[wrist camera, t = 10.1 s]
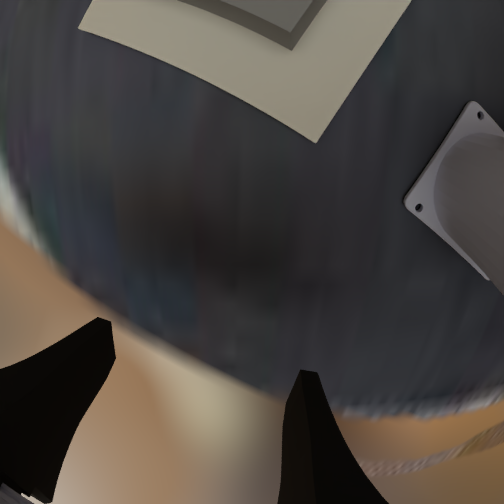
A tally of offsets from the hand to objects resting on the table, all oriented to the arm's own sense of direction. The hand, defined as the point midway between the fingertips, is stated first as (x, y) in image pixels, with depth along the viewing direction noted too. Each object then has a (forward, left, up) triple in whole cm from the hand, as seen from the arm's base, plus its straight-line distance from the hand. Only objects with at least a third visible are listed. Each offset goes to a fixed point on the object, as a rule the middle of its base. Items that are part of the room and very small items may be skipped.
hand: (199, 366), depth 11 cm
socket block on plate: (+8, -16, -9) cm, 20 cm away
